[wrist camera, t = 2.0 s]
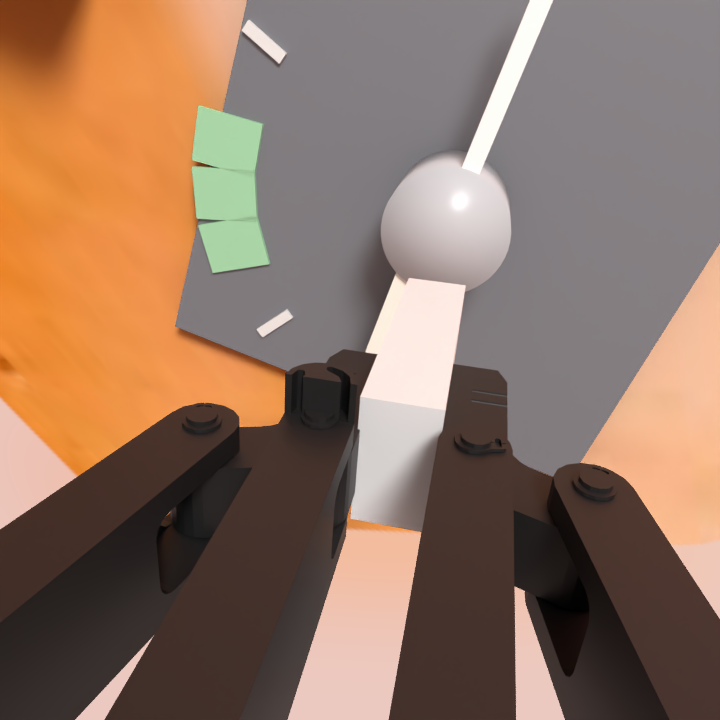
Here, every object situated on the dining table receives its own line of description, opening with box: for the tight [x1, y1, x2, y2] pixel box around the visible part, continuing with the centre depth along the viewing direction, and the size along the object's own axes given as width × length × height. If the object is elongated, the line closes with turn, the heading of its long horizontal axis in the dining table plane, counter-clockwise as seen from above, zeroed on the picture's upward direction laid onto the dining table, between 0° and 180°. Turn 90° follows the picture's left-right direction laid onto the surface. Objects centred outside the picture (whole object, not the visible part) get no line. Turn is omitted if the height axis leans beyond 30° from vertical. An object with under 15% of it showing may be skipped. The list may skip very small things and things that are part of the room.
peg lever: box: [365, 0, 553, 354], centre depth 27 cm, size 21×5×4 cm, turn 161°
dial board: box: [175, 0, 720, 476], centre depth 30 cm, size 23×22×1 cm
